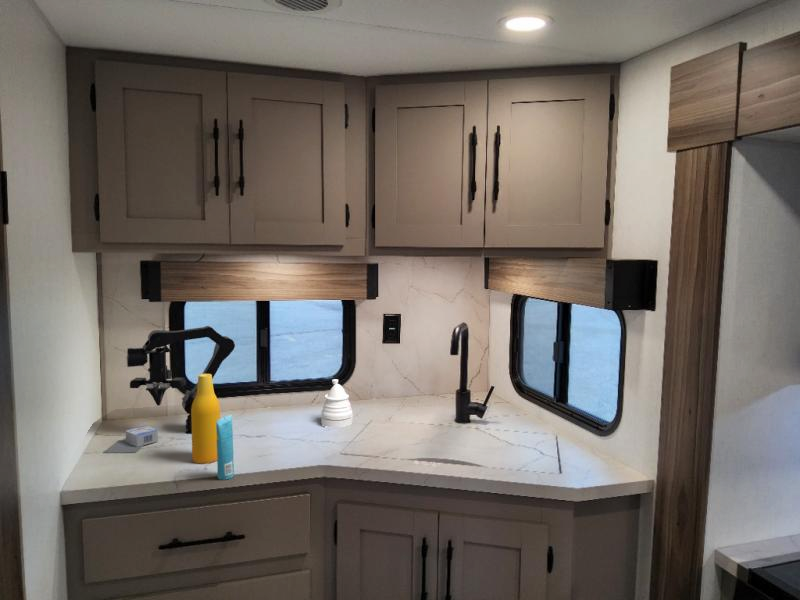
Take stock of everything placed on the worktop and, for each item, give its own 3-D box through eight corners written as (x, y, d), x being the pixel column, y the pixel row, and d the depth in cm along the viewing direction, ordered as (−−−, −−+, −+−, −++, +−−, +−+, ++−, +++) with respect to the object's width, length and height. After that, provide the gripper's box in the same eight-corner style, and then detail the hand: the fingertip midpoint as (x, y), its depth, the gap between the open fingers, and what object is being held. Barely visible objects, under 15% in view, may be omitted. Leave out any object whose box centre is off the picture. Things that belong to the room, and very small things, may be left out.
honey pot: (316, 422, 230) (316, 379, 228) (343, 417, 237) (344, 375, 235) (330, 431, 219) (330, 386, 217) (358, 425, 226) (358, 382, 224)
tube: (225, 471, 179) (224, 413, 177) (238, 473, 177) (237, 414, 176) (212, 480, 171) (210, 420, 170) (226, 482, 170) (225, 421, 168)
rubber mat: (149, 440, 205) (149, 440, 205) (135, 452, 193) (135, 452, 193) (118, 441, 205) (118, 440, 205) (103, 453, 193) (102, 452, 193)
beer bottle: (223, 453, 194) (221, 371, 191) (218, 463, 185) (216, 378, 182) (195, 454, 193) (193, 372, 190) (189, 464, 184) (187, 378, 181)
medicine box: (137, 435, 197) (124, 430, 202) (137, 447, 198) (125, 442, 203) (158, 430, 203) (145, 424, 209) (158, 441, 204) (146, 436, 209)
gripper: (190, 360, 216) (190, 399, 218) (140, 360, 215) (142, 399, 217) (180, 366, 205) (181, 407, 207) (128, 366, 204) (129, 407, 206)
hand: (158, 405), depth 209 cm, fingers closed
